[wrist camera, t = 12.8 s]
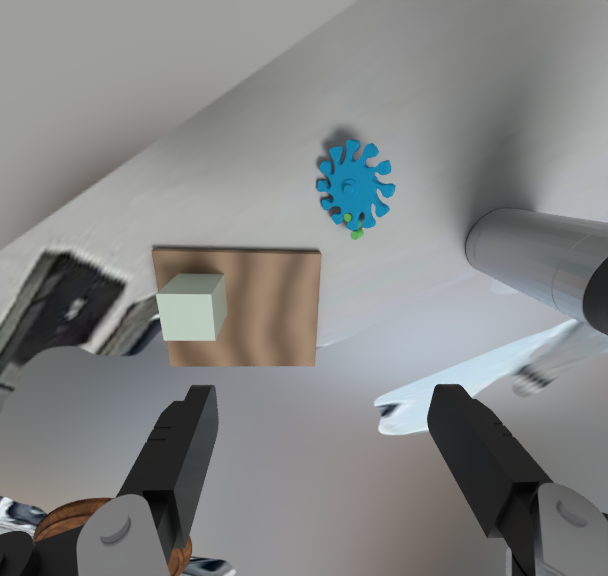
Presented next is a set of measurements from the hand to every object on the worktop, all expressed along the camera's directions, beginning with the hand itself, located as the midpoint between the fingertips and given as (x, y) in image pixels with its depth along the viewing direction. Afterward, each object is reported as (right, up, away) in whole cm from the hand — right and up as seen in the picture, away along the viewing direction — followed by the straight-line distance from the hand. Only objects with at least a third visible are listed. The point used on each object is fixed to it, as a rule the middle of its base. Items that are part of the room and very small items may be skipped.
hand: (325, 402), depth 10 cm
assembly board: (-10, +1, +32) cm, 33 cm away
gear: (+5, +17, +26) cm, 32 cm away
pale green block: (-15, +3, +29) cm, 32 cm away
